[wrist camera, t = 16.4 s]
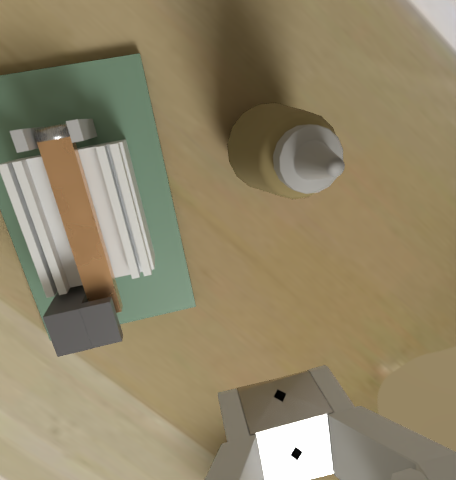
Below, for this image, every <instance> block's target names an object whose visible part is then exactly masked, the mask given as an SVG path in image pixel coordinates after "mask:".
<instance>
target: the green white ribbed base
mask: <svg viewBox="0 0 456 480" xmlns="http://www.w3.org/2000/svg"><path fill="white" fill-rule="evenodd" d="M65 123H66V124H67V127H68V131H69V134H70V138H71V141H72V143H74V142H76V146H77V149H78V153H79V156H80V160H81V163H82V167H83V170H84V173H85V177H86V180H87V184H88V187H89V191H90V194H91V198H92V201H93V205H94V208H95V211H96V215H97V218H98V222H99V225H100V229H101V232H102V236H103V239H104V242H105V246H106V249H107V253H108V256H109V260H110V263H111V267H112V270H113V274H114V277H115V280H116V284H117V287H118V291H119V294H120V298H121V301H122V305H123V307H122V312H118V313H117V317H118V320H119V323H120V324H123V323H127V322H132V321H136V320H140V319H145V318H149V317H153V316H157V315H162V314H166V313H170V312H175V311H179V310H183V309H188V308H192V307H196V305H195V300H194V295H193V291H192V286H191V282H190V277H189V273H188V268H187V264H186V259H185V255H184V250H183V246H182V241H181V237H180V232H179V228H178V223H177V219H176V214H175V210H174V205H173V201H172V196H171V191H170V187H169V182H168V178H167V173H166V169H165V164H164V160H163V155H162V151H161V146H160V142H159V137H158V133H157V128H156V124H155V119H154V115H153V110H152V106H151V101H150V97H149V92H148V88H147V83H146V79H145V74H144V70H143V65H142V61H141V56H140V53H139V54H133V55H127V56H120V57H114V58H108V59H101V60H95V61H89V62H82V63H76V64H70V65H64V66H57V67H51V68H45V69H38V70H32V71H26V72H19V73H13V74H7V75H1V76H0V210H1V213H2V216H3V218H4V221H5V223H6V226H7V229H8V231H9V234H10V236H11V239H12V242H13V244H14V247H15V250H16V252H17V255H18V257H19V260H20V263H21V265H22V268H23V270H24V273H25V276H26V278H27V281H28V284H29V286H30V289H31V291H32V294H33V297H34V299H35V302H36V304H37V307H38V310H39V312H40V315H41V318H42V320H43V316H44V314H45V312H46V311H47V309H48V307H49V305H50V304H51V302H52V300H53V299H54V297H55V295H56V294H57V292H58V293H59V295H62V294H67V292H68V291H69V289H70V288H71V287H76V286H80V285H83V284H82V281H81V278H80V275H79V272H78V269H77V266H76V263H75V259H74V256H73V253H72V250H71V247H70V244H69V241H68V238H67V235H66V231H65V228H64V225H63V222H62V219H61V216H60V213H59V210H58V207H57V203H56V200H55V197H54V194H53V191H52V188H51V185H50V182H49V179H48V175H47V172H46V169H45V166H44V163H43V160H42V157H41V154H40V151H39V147H38V144H37V140H36V137H35V132H34V131H35V129H36V128H42V127H48V126H54V125H59V124H65ZM43 323H44V325H45V322H44V320H43ZM45 328H46V325H45ZM46 331H47V333H48V330H47V328H46ZM48 336H49V339H50V340H51V338H50V335H49V333H48Z"/></svg>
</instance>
